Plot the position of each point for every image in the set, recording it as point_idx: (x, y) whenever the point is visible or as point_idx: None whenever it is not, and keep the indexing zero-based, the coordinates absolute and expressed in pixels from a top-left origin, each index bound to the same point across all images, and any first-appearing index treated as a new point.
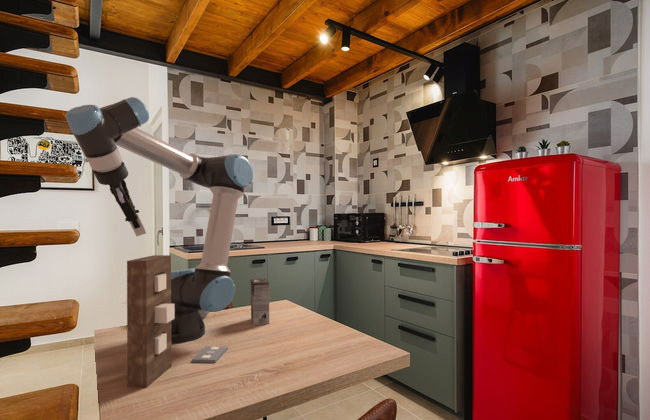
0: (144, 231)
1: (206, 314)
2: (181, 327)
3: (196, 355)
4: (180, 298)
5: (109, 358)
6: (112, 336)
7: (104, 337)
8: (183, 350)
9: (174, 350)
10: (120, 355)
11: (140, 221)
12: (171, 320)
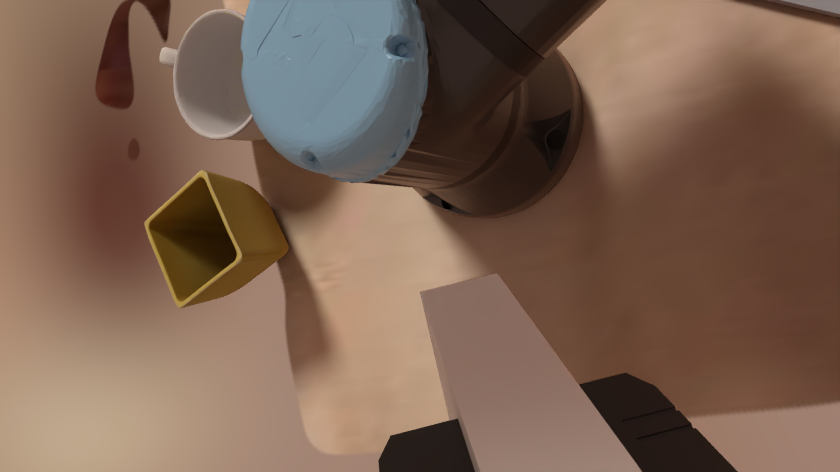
0: (508, 296)
1: None
2: (553, 104)
3: (835, 11)
4: (530, 72)
5: (676, 388)
6: (404, 402)
7: (405, 431)
8: (696, 90)
9: (680, 130)
10: (655, 349)
11: (574, 392)
12: (520, 148)
